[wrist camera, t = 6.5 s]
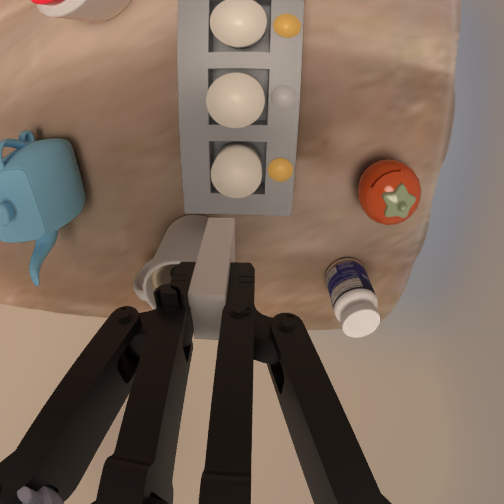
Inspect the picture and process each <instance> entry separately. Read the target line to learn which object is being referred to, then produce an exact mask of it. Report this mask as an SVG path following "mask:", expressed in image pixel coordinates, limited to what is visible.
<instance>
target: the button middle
mask: <svg viewBox="0 0 504 504" xmlns="http://www.w3.org/2000/svg"><path fill="white" fill-rule="evenodd" d="M264 105H265V96H264V91H263V88H262V86H261V84H260V83H259V81H258V80H257V79H256V78H254V77H253V76H251V75H249V74H246V73H240V72H237V73H229V74H226V75H223V76H221V77H219V78H218V79H216V80H215V81H214V82H213V83H212V84H211V86H210V87H209V89H208V92H207V95H206V106H207V110H208V112H209V114H210V115H211V117H212V118H213V119H214V120H215V121H216V122H217V123H219V124H220V125H223V126H225V127H229V128H242V127H245V126H248V125H250V124H252V123H253V122H254V121H256V120H257V119H258V118H259V116H260V115H261V113H262V111H263V109H264Z"/></svg>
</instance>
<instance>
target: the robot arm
mask: <svg viewBox="0 0 504 504" xmlns="http://www.w3.org/2000/svg"><path fill="white" fill-rule="evenodd" d="M254 282H255V269H254V267H253V266H252V264H251V263H238V262H235V218H208V222H207V225H206V229H205V232H204V236H203V239H202V243H201V246H200V250H199V254H198V257H197V261H196V262H182V261H181V262H180V263H179V264H178V265H177V266H176V267H175V269H174V272H173V276H172V278H171V281H170V283H168V284H163V285H161V286H159V287H157V288H156V289H155V291H154V292H153V294H154V299H155V303H156V309H154V310H152V311H148V312H142V313H138V311H137V310H136V309H135V308H133V307H130V306H124V307H120V308H118V309H116V310H115V311H114V312H113V313H112V314H111V315H110V316H109V318H108V319H107V320H106V321H105V323H104V324H103V325H102V327H101V328H100V329H99V331H98V332H97V333H96V334H95V336H94V337H93V338H92V340H91V341H90V342H89V344H88V345H87V346H86V348H85V349H84V350H83V352H82V353H81V354H80V356H79V357H78V358H77V360H76V361H75V363H74V364H73V365H72V367H71V368H70V369H69V371H68V372H67V374H66V375H65V376H64V378H63V379H62V381H61V382H60V384H59V385H58V386H57V388H56V389H55V391H54V392H53V394H52V395H51V396H50V398H49V399H48V401H47V402H46V404H45V405H44V407H43V408H42V410H41V412H40V413H39V414H38V416H37V417H36V419H35V420H34V422H33V424H32V425H31V427H30V428H29V430H28V431H27V433H26V434H25V436H24V438H23V439H22V441H21V442H20V444H19V446H18V447H17V449H16V450H15V451H14V452H13V453H12V454H10V455H9V456H8V457H7V458H5V459H4V460H3V461H2V462H0V504H64V501H65V500H67V499H68V498H69V496H70V495H71V494H72V493H73V492H74V490H75V489H76V487H77V486H78V484H79V482H80V480H81V479H82V477H83V475H84V473H85V471H86V470H87V468H88V466H89V464H90V462H91V460H92V459H93V457H94V455H95V453H96V451H97V449H98V448H99V446H100V444H101V442H102V440H103V439H104V437H105V435H106V433H107V431H108V430H109V428H110V426H111V425H112V423H113V421H114V419H115V417H116V416H117V414H118V412H119V410H120V409H121V407H122V405H123V403H124V402H125V400H126V398H127V396H128V395H129V398H128V401H127V405H126V409H125V413H124V416H123V421H122V424H121V428H120V432H119V436H118V440H117V444H116V448H115V452H114V454H113V455H112V456H110V457H108V458H107V459H106V461H105V464H104V467H103V471H102V475H101V480H100V484H99V489H98V494H97V499H96V501H94V502H93V503H91V504H173V485H172V477H173V470H174V463H175V455H176V449H177V442H178V435H179V429H180V421H181V415H182V409H183V403H184V397H185V390H186V385H187V379H188V373H189V367H190V362H191V356H192V351H193V343H192V337H193V332H194V338H195V339H211V340H219V343H218V350H217V360H216V367H215V376H214V385H213V393H212V402H211V412H210V421H209V430H208V440H207V441H208V442H207V450H206V461H205V468H204V471H203V473H202V477H201V485H200V495H199V504H251V449H252V403H253V360H257V361H260V362H263V363H267V366H268V369H269V372H270V375H271V378H272V381H273V384H274V387H275V391H276V393H277V396H278V399H279V403H280V405H281V409H282V411H283V415H284V417H285V421H286V424H287V426H288V429H289V432H290V435H291V438H292V441H293V444H294V447H295V450H296V453H297V456H298V459H299V462H300V464H301V467H302V470H303V473H304V476H305V479H306V481H307V484H308V487H309V490H310V493H311V496H312V499H313V501H314V504H391V503H390V502H389V501H388V500H387V499H386V498H385V497H384V496H383V495H382V494H381V493H380V490H379V488H378V486H377V484H376V481H375V479H374V477H373V474H372V472H371V470H370V468H369V466H368V463H367V461H366V459H365V457H364V454H363V452H362V450H361V447H360V445H359V443H358V441H357V439H356V436H355V434H354V432H353V430H352V427H351V425H350V423H349V421H348V419H347V417H346V414H345V412H344V410H343V408H342V406H341V403H340V401H339V399H338V397H337V395H336V392H335V390H334V388H333V386H332V384H331V382H330V379H329V377H328V375H327V373H326V371H325V369H324V366H323V364H322V362H321V360H320V358H319V356H318V354H317V352H316V349H315V347H314V345H313V343H312V341H311V339H310V336H309V334H308V332H307V330H306V328H305V326H304V324H303V322H302V320H301V319H300V318H299V317H298V316H296V315H294V314H291V313H281V314H278V315H276V316H275V317H273V318H271V317H268V316H265V315H263V314H261V313H259V312H258V311H257V310H256V308H255V305H254ZM129 393H130V394H129Z"/></svg>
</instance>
